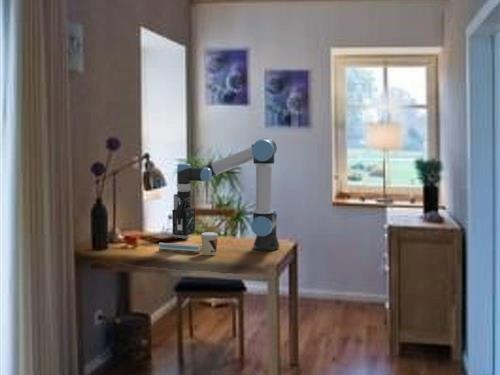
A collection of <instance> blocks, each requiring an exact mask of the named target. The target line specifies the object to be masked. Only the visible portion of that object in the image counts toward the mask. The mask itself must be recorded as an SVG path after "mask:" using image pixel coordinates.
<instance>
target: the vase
mask: <svg viewBox="0 0 500 375" xmlns="http://www.w3.org/2000/svg"><path fill="white" fill-rule="evenodd" d="M178 201H180V198H178V197H177V193H175V194H173V210H174V209H177V205H178ZM174 236H175V237H178V238H182V239H183V240H184V239H189V238H190V237H191V234H190V235H188V236H182V235H173V237H174ZM182 239H181V240H182Z"/></svg>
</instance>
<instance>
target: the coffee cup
mask: <svg viewBox="0 0 500 375" xmlns="http://www.w3.org/2000/svg"><path fill="white" fill-rule="evenodd" d="M200 237H201V246H202V252H201V253H202V255H203V254H204V255H215V254H216V255H217V251H218V237H219V235H218V233H217V232H213V231H206V232H202V233H201V234H200ZM204 255H203V256H204ZM216 255H215V256H216Z"/></svg>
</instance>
